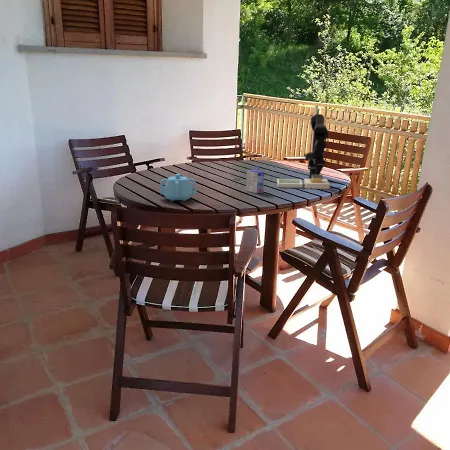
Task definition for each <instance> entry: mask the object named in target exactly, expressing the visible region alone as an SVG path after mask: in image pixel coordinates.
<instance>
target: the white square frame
mask: <svg viewBox="0 0 450 450" xmlns="http://www.w3.org/2000/svg"><path fill="white" fill-rule="evenodd" d="M311 181H312V179H309V178H304V179H303V184H305V185H304V187H305V189H310V188H312V189H313V190H314V189H316V190H319V189H320V190H330V188H331V184H330V182H329V181H328V179H326V178H325V179H324V178H322V183H311Z"/></svg>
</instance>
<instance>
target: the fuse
mask: <svg viewBox="0 0 450 450" xmlns="http://www.w3.org/2000/svg"><path fill="white" fill-rule="evenodd" d="M323 177H324V176H323V174H321V173H320V174H319V175H317V174H312V181H311V183H322V179H324V178H323Z"/></svg>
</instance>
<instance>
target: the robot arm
mask: <svg viewBox="0 0 450 450" xmlns="http://www.w3.org/2000/svg"><path fill="white" fill-rule="evenodd" d="M309 123H310V124H309V125H310V127H311V130H312V132H313V133H312V150H311V151H309V152H307V153H304V158H305V160H306V161H307V170H309V175H308V177H307V179H312V174H317V175H319V174H321V172H322V171H323V168H324V167H325V166H326V160H325V156H324V154H325V149H326V148H327V143H326V140H328V138H329V130H328V128H327V126H326V125H325V117H324V114H321V113H319V114H318V113H317V114H314V115H313V116H311V117H310V122H309Z"/></svg>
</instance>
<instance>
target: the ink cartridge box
mask: <svg viewBox="0 0 450 450" xmlns="http://www.w3.org/2000/svg"><path fill="white" fill-rule="evenodd" d="M260 168H261V167H260V166H257V165H256V166H255V167H254V168H253V169H249V170H246V186H245V191H247V192H250V193H254V194H262V193H264V185H265V183H264V182H265V180H264V179H265V171H262V170H260Z"/></svg>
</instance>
